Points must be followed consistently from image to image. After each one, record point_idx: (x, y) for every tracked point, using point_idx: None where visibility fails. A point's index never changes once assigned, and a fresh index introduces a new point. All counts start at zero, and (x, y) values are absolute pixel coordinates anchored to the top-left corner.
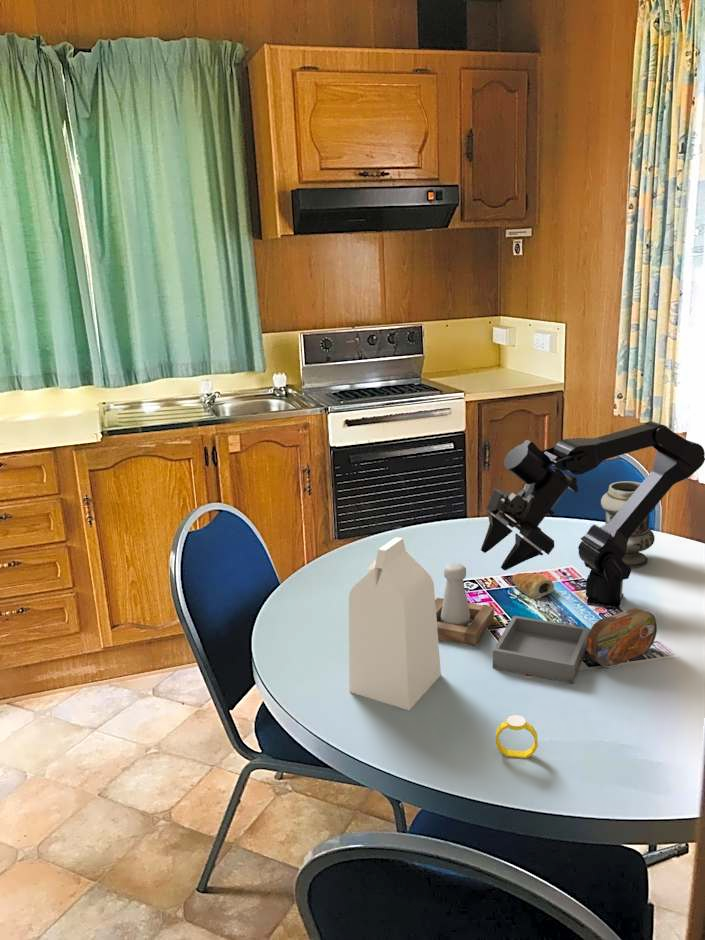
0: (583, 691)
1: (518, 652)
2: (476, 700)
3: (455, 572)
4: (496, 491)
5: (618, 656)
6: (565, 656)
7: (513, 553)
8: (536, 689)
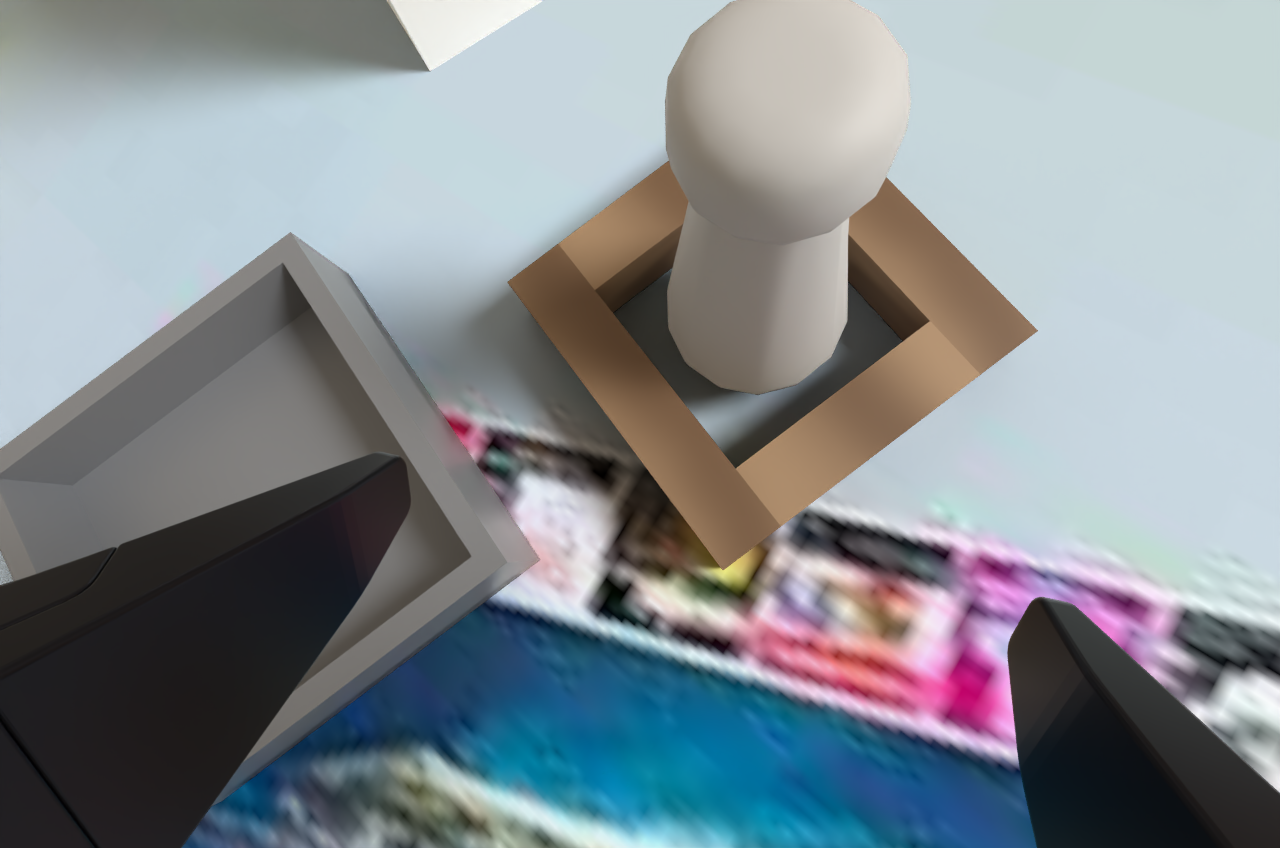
0: None
1: (337, 422)
2: (224, 104)
3: (687, 44)
4: None
5: None
6: None
7: (68, 565)
8: (136, 332)
